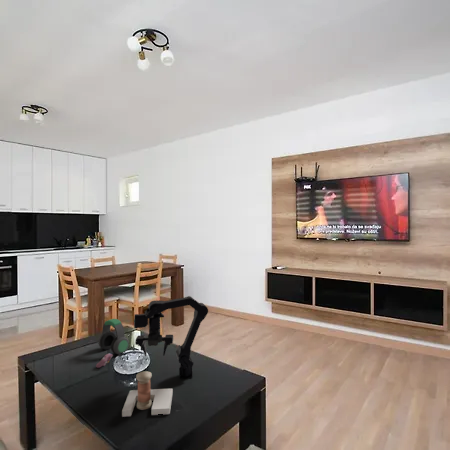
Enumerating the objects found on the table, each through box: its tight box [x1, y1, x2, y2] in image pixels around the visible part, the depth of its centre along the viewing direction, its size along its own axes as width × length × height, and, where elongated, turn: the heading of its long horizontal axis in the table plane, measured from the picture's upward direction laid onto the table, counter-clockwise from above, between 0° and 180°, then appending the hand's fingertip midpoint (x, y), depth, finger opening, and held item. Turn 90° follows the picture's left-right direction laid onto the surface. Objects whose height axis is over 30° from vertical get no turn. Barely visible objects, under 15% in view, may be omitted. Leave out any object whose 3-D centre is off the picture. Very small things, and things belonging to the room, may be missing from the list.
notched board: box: [121, 388, 174, 418], centre depth 145 cm, size 20×16×2 cm
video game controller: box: [95, 353, 114, 369], centre depth 184 cm, size 10×5×7 cm, turn 170°
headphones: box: [97, 318, 130, 355], centre depth 202 cm, size 19×11×20 cm, turn 55°
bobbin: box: [135, 370, 153, 411], centre depth 144 cm, size 7×7×14 cm
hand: (154, 355), depth 166 cm, fingers open, 9 cm apart
